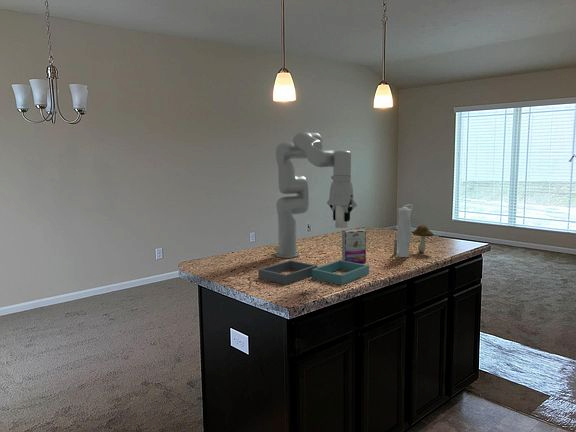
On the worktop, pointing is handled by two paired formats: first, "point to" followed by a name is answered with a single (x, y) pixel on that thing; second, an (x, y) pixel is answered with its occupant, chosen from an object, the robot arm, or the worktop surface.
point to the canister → (340, 217)
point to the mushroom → (422, 236)
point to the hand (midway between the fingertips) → (341, 220)
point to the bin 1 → (274, 271)
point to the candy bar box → (354, 246)
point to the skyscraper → (403, 233)
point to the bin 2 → (326, 275)
